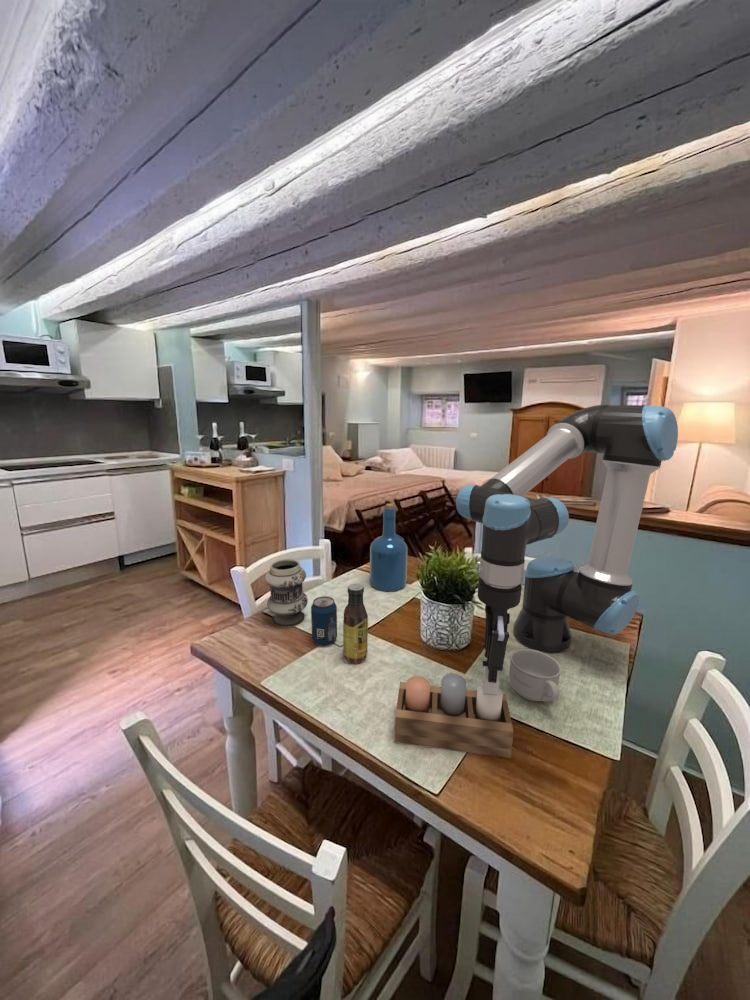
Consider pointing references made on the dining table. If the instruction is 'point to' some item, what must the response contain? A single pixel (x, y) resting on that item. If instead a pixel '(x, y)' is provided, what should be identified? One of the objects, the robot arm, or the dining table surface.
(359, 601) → the sauce bottle
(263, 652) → the dining table surface
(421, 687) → the peach egg
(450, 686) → the grey rounded cylinder
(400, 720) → the wooden compartment box
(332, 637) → the soda can
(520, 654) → the teacup
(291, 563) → the apothecary jar
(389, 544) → the wine bottle
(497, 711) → the white egg
